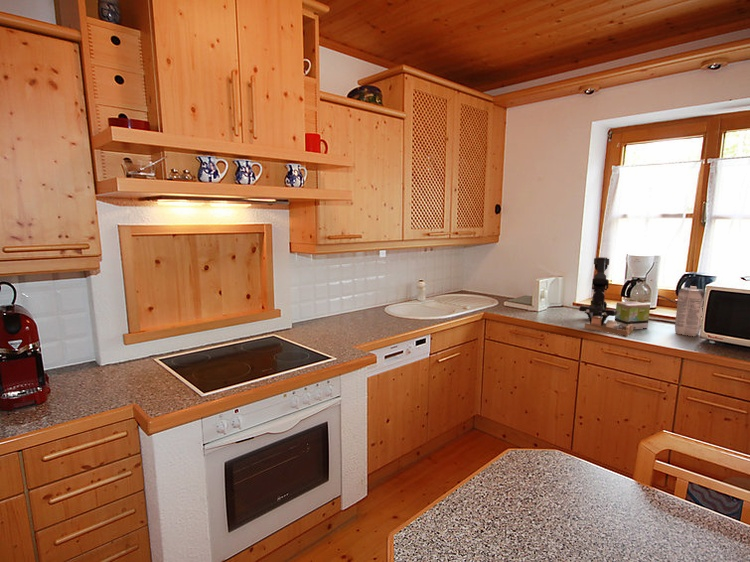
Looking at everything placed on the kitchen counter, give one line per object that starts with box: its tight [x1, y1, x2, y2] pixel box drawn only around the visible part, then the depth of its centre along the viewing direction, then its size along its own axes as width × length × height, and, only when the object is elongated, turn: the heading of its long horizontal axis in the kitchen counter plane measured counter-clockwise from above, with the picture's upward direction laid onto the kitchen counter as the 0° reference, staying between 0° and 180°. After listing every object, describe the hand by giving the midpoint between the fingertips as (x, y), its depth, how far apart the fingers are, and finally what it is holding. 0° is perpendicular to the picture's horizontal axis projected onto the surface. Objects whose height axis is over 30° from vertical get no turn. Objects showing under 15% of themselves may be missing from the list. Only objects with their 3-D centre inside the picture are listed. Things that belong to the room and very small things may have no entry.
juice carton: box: [674, 285, 705, 338], centre depth 231 cm, size 9×10×27 cm
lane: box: [583, 322, 634, 337], centre depth 240 cm, size 10×22×5 cm, turn 44°
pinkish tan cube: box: [591, 316, 602, 326], centre depth 244 cm, size 6×6×6 cm
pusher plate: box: [616, 323, 623, 330], centre depth 236 cm, size 7×2×4 cm, turn 134°
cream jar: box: [605, 319, 617, 328], centre depth 239 cm, size 6×6×6 cm
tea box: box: [614, 301, 651, 330], centre depth 246 cm, size 15×10×15 cm, turn 105°
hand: (596, 324), depth 245 cm, fingers closed on pinkish tan cube, 5 cm apart
